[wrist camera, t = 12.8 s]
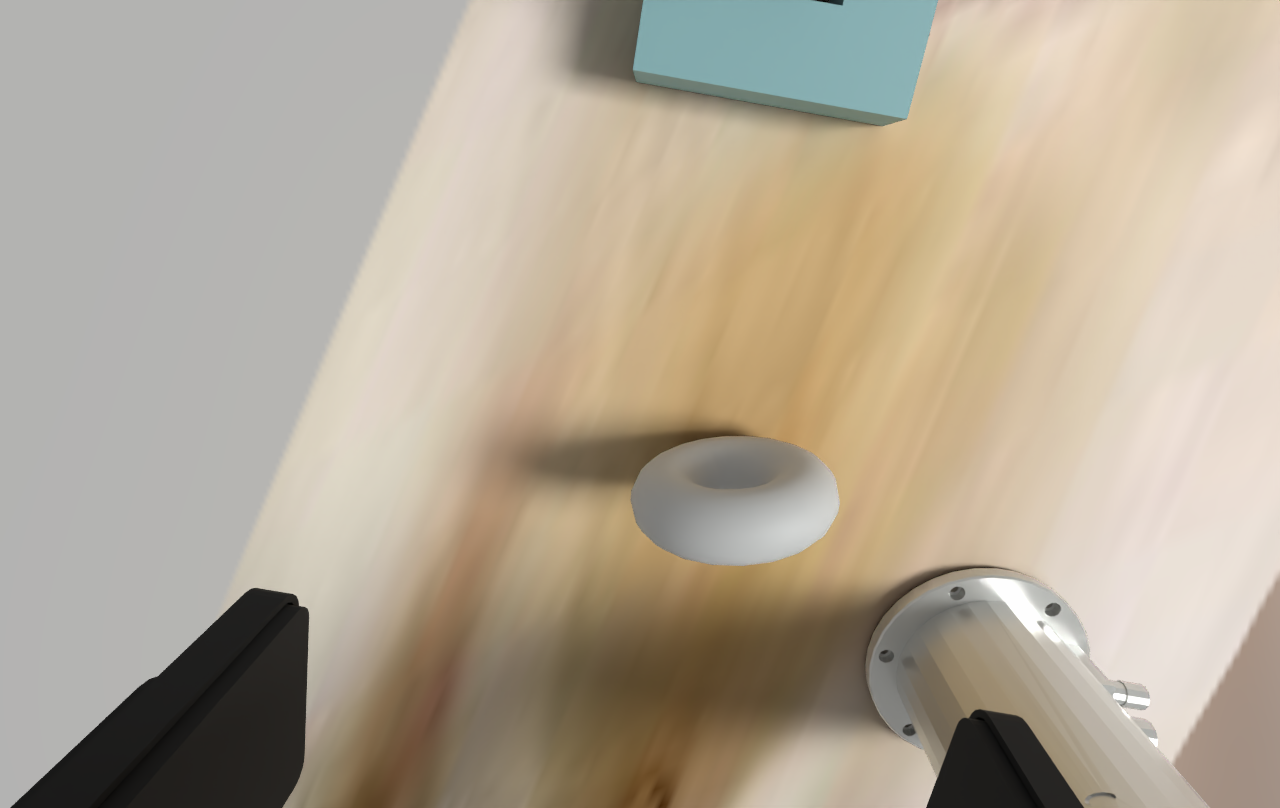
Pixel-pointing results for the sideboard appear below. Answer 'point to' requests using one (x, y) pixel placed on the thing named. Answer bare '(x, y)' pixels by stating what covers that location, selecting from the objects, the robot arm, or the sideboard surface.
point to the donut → (735, 500)
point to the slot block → (790, 53)
